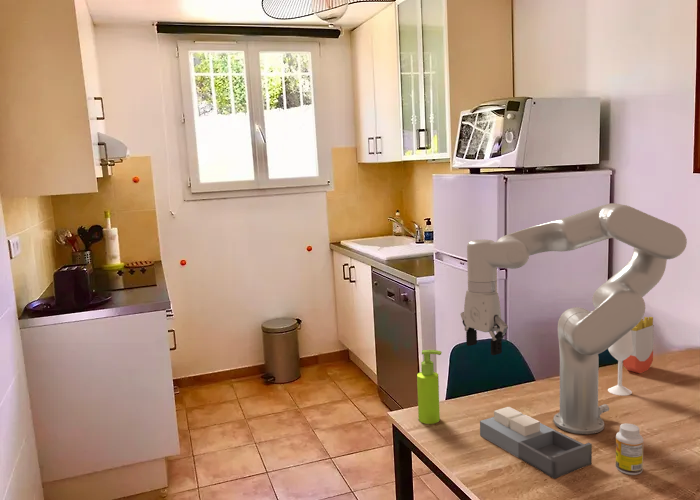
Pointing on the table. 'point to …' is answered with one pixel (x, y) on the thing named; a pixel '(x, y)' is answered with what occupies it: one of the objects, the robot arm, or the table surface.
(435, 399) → the soap dispenser
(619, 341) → the champagne flute
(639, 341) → the french fries container
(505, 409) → the rear tile
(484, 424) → the grey box sleeve
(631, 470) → the supplement bottle
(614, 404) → the table surface
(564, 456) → the box
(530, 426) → the front tile
